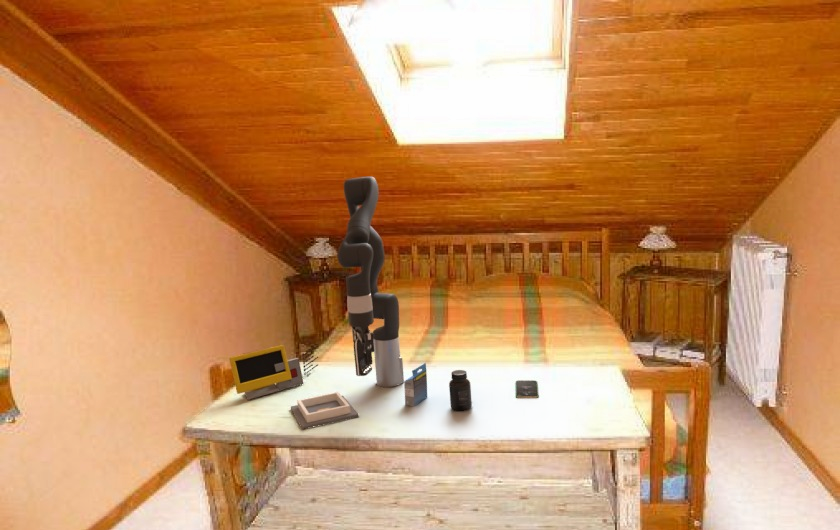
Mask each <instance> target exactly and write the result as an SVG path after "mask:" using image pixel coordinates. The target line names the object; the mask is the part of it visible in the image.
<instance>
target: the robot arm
mask: <svg viewBox="0 0 840 530" xmlns="http://www.w3.org/2000/svg"><path fill="white" fill-rule="evenodd" d="M343 183H344V184H343V194H344V198H345V202H346V206H347V209H348V212H349V213H348V214H349V217H350V218H349V220H348V222H347V227H346V235H345V237H344V238H343V240H342V242H341V243H340V244H339V248H338V249H337V255H336V256H337V257H336V258H337V262H338V263H339V265H340V266H341V267H343V268H349V269H350V268H360V272H358V273H354V274H351V275H347V277H346V279H345V282H346V283H345V284H346V285H345V286H346V295H347V296H346V297H347V299H346V300H347V301H346V305H347V316H348V324H349V326H350V327H351V330H352V331H351V332H352V343H354V341H355V339H357V338H359V341H360V344H361V346H363V352H364V360H365V365H370V366H371V365H373V356H374V366H375V376H376V377H375V378H376V379H375V380H376V384H377V386H379V387H382V388H391V387H392V388H393V387H395V386H400V385H401V384H403V383H404V381H405V376H404V363H403V357H402V356H401V350H400V349H401V348H400V338H399V332H400V303H399V299H398V297H397V295H395V294H394V293H383V292H382V293H381V292H379V288H378V287H379V286H378V278H379V275H380V272H381V271H382V269H383V266H384V263H385V260H386V257H385V250H384V249H385V248H384V244H383V243H384V242H383V239H382V237H381V236H380V235H379V233H378V232H377V231H376V230H375V229H374V228H373V226H371V224H372V219H373V217H374V214H375V210H376V208H377V204H378V201H379V196H380V195H379V192H380V191H379V186H378V182H377V180H376V178H375V177H373V176H361V177H355V178H349V179H348V178H347V179H346V180H345V181H344V182H343ZM359 206H360V207H359ZM376 319H377V320H383V325H381V326H379V327H376V328H375V329H374V330H373V331H372V332H371V329H370V328H369V326H371V325H372V324H374V322H375V321H374V320H376ZM362 341H365V343H363V342H362ZM368 346H369V349H368ZM373 352H374V353H373ZM373 354H374V355H373Z"/></svg>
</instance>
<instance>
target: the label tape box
mask: <svg viewBox="0 0 840 530" xmlns="http://www.w3.org/2000/svg"><path fill="white" fill-rule="evenodd" d="M420 370H421V371H420ZM411 373H412V375H411V376H409V378H407V379H404V384H403V385H404V404H405V406H409V407H410V406H411V407H416V406H417V405H418V404H420V403H421V402H422V401H423V400H425V399H426V398H428V375H427V374H428V373H427V363H426V362H424V363H423V364H421V365H419V366H418V367H416V368H414V369H413V370H411Z"/></svg>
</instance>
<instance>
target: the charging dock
mask: <svg viewBox="0 0 840 530" xmlns="http://www.w3.org/2000/svg"><path fill="white" fill-rule="evenodd" d="M296 402H297V405H296V404H295V405H291V406H290V410H291V412H292V413H294V414H293V416H295V417H294V418H295V419H296V418H297V419H296V421H297V420H298V421H297V422H298V423H299V426H300V425H301V426H300V428H301V429H302V428H303V429H302V430H305V429H304V428H307V429H309V428H308V427H312V428H314V427H313V426H316V427H319V426H318V425H321V426H324V425H323V424H325V425H328V423H329V424H332V422H334V423H338V422H343V421H346V419H347V420H351V419H355V418H359V417H360V416H359V413H358V412H357V410H356V409H355V408H354V406H352V405H351V403H350V402H349V401H348V399H346V398H345V397H344V395H341V393H340V392H339V391H334V392H329V393H324V394H320V395H316V396H309V397H307V398H302V399H301V398H300V399H297V400H296ZM350 418H351V419H350ZM337 421H338V422H337Z"/></svg>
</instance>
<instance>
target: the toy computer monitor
mask: <svg viewBox="0 0 840 530" xmlns="http://www.w3.org/2000/svg"><path fill="white" fill-rule="evenodd" d="M287 360H288V357H287V353H286V349H285V345H284V344H281V345H277V346H273V347H270V346H267V347H264V348H263V347H262V348H260V349H256V350H252V351H247V352H243V353H242V354H240V355H235V356H232V357H229V363H230V364H229V365H230V367H231V372H232V377H233V381H234V386H235V390H236V395H237V394H238V395H239V394H243V393H244V395H245V396H246V399H247V400H252V399H255V398H260V397H263V396H267V395H271V394H274V393H277V392H280V391H284V390H285V389H283V390H279V388H277V386H276V383H279V382H283V381H286V380H290V379H292V378H291V373H290V369H289V365H288V362H287ZM283 362H285V369H283V370H281V371H278V372H276V369H275V364H279V363H283Z"/></svg>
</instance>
